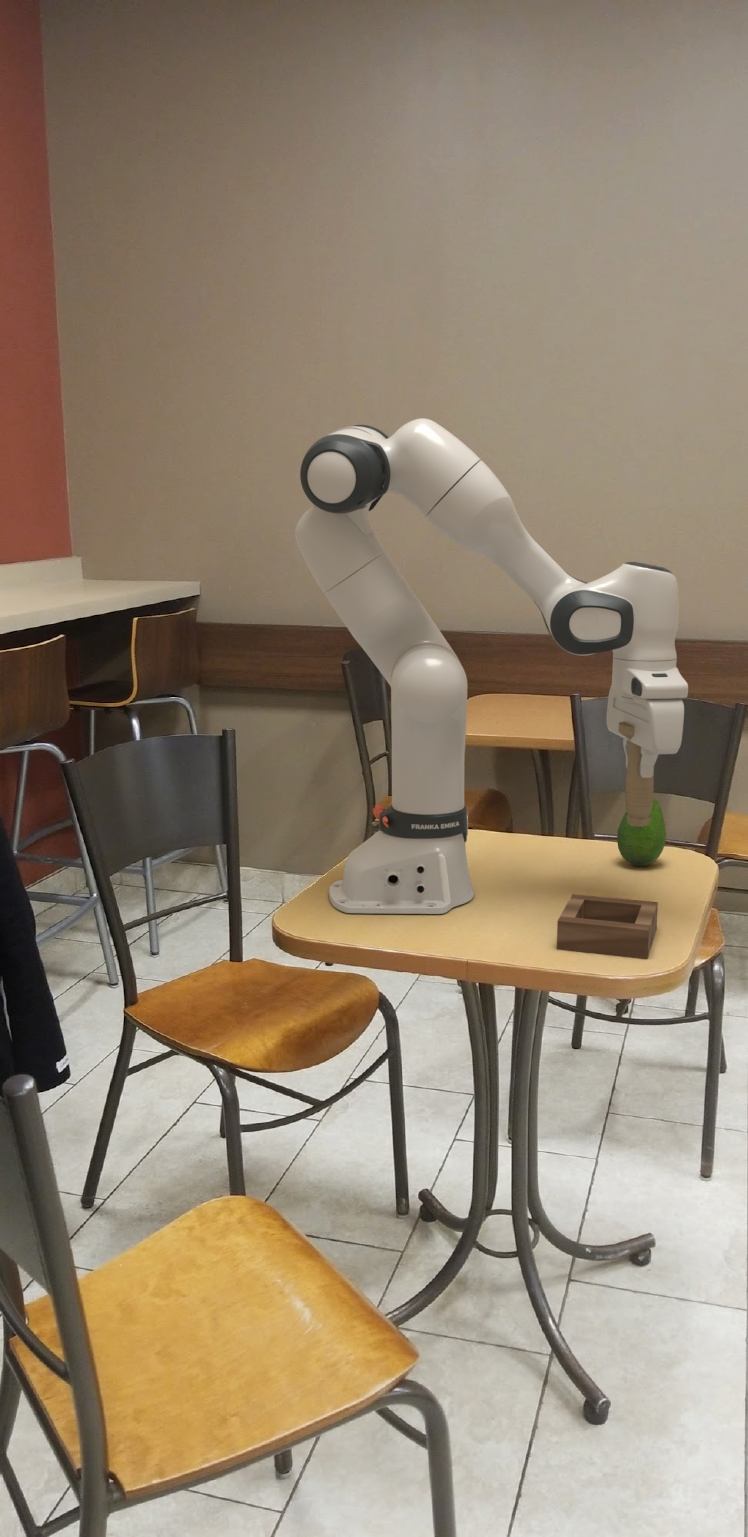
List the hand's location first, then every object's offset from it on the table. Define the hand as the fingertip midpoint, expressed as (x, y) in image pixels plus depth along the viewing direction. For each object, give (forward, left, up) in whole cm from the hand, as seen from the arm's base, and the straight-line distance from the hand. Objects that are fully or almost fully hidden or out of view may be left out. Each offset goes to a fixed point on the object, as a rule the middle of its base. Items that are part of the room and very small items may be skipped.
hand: (639, 773), depth 167 cm
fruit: (+9, +22, -21) cm, 32 cm away
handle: (0, 0, -8) cm, 8 cm away
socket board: (-8, -11, -21) cm, 25 cm away
